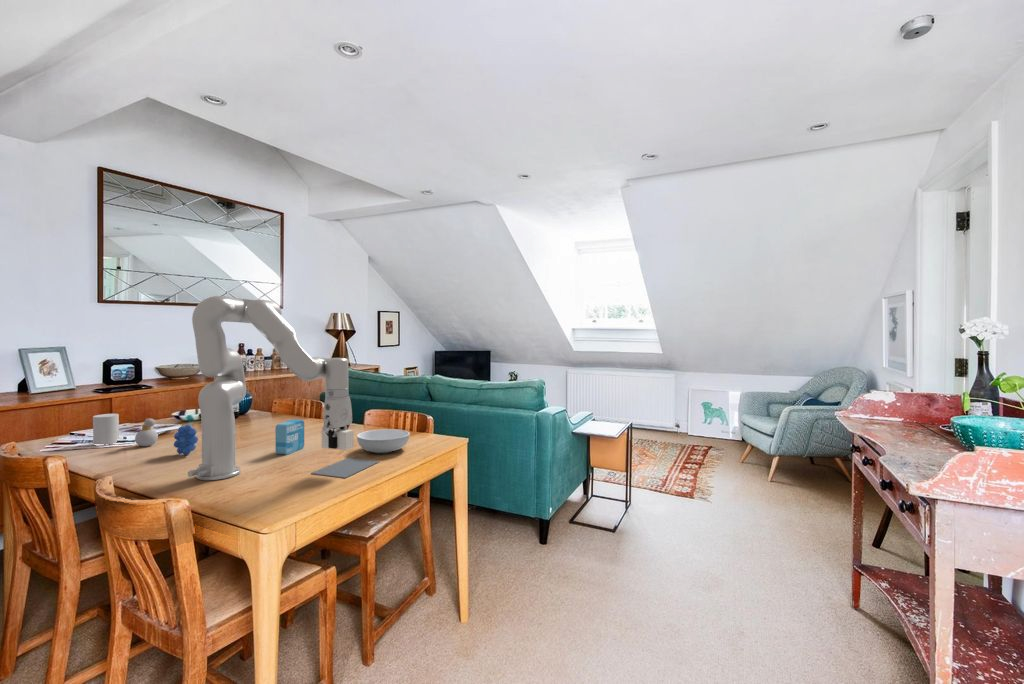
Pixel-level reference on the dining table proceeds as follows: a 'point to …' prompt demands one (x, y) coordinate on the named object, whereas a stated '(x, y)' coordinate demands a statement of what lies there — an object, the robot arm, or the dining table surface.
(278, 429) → the data package
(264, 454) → the dining table surface
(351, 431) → the white rectangular block
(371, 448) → the serving bowl
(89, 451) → the dining table surface
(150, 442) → the perfume bottle
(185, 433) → the grapes
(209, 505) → the dining table surface
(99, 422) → the cup
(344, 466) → the mat
